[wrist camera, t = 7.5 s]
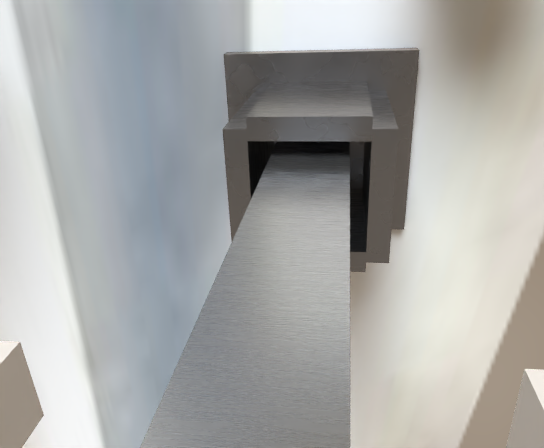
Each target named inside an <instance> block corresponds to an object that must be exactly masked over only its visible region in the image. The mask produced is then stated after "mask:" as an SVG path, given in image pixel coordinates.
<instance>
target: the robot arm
mask: <svg viewBox="0 0 544 448" xmlns="http://www.w3.org/2000/svg"><path fill="white" fill-rule="evenodd" d="M43 416H44V414H43V411H42V408H41V405H40V402H39V399H38V396H37V393H36V390H35V387H34V384H33V380H32V377H31V374H30V371H29V368H28V365H27V362H26V359H25V356H24V353H23V350H22V347H21V344H20V342H16V341H0V448H22V446H23V445H24V444H25V442H26V441H27V439H28V438H29V436H30V435H31V433H32V432H33V430H34V429H35V427H36V426H37V424H38V423H39V421H40V420H41V419H42V417H43ZM506 448H544V370H537V369H525V370H524V374H523V378H522V382H521V387H520V391H519V395H518V399H517V404H516V408H515V412H514V416H513V421H512V426H511V429H510V433H509V438H508V442H507V446H506Z"/></svg>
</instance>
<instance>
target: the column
mask: <svg viewBox="0 0 544 448" xmlns="http://www.w3.org/2000/svg"><path fill="white" fill-rule="evenodd" d="M140 448H350V141H277V143H276V145H275V147H274V149H273V152H272V154H271V156H270V158H269V161H268V163H267V165H266V167H265V169H264V172H263V174H262V176H261V178H260V181H259V183H258V185H257V187H256V190H255V192H254V194H253V196H252V198H251V201H250V203H249V205H248V207H247V210H246V212H245V214H244V216H243V219H242V221H241V223H240V225H239V227H238V230H237V232H236V234H235V236H234V239H233V241H232V243H231V245H230V248H229V250H228V252H227V254H226V256H225V259H224V261H223V263H222V265H221V268H220V270H219V272H218V274H217V277H216V279H215V281H214V283H213V286H212V288H211V290H210V292H209V294H208V297H207V299H206V301H205V303H204V306H203V308H202V310H201V312H200V315H199V317H198V319H197V321H196V323H195V326H194V328H193V330H192V332H191V335H190V337H189V339H188V341H187V344H186V346H185V348H184V350H183V352H182V355H181V357H180V359H179V361H178V364H177V366H176V368H175V370H174V373H173V375H172V377H171V379H170V381H169V384H168V386H167V388H166V390H165V393H164V395H163V397H162V399H161V402H160V404H159V406H158V408H157V411H156V413H155V415H154V417H153V419H152V422H151V424H150V426H149V428H148V431H147V433H146V435H145V437H144V440H143V442H142V444H141V446H140Z"/></svg>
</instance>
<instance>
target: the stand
mask: <svg viewBox="0 0 544 448" xmlns="http://www.w3.org/2000/svg"><path fill="white" fill-rule="evenodd" d="M418 57H419V49H418V48H394V49H350V50H307V51H263V52H227V53H225V54H224V64H225V77H226V90H227V104H228V117H229V122H228V123H227V125H226V126H225V127H224V128H223V140H224V153H225V165H226V177H227V189H228V201H229V214H230V226H231V238H232V241H233V239H234V236H235V234H236V232H237V230H238V227H239V225H240V223H241V221H242V219H243V216H244V214H245V212H246V210H247V207H248V205H249V203H250V201H251V198H252V196H253V194H254V192H255V190H256V187H257V185H258V183H259V181H260V178H261V176H262V174H263V172H264V169H265V167H266V165H267V163H268V161H269V158H270V156H271V154H272V152H273V149H274V147H275V145H276V143H277V141H350V271H354V272H365V268H366V262H373V263H389V254H390V240H391V229H404V223H405V211H406V199H407V188H408V176H409V164H410V152H411V140H412V128H413V116H414V104H415V92H416V81H417V69H418Z"/></svg>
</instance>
